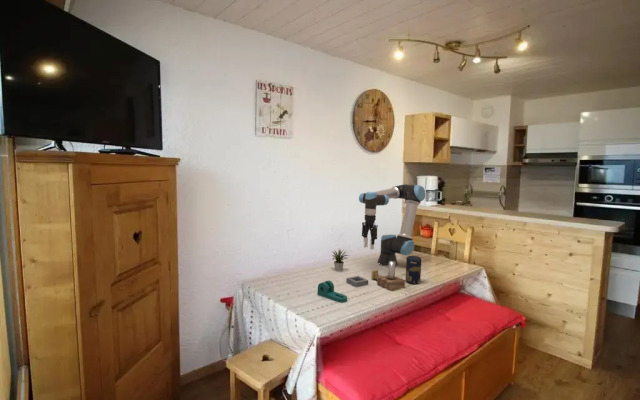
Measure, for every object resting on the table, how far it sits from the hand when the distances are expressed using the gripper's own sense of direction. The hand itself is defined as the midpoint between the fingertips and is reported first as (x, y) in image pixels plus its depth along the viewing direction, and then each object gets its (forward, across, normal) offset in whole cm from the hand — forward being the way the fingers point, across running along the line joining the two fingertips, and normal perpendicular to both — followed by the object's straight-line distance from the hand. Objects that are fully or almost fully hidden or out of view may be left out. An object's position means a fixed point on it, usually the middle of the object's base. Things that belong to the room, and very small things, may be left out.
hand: (368, 248), depth 225 cm
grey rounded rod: (+20, +22, 0) cm, 30 cm away
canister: (+20, +24, +19) cm, 36 cm away
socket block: (+20, +22, 0) cm, 30 cm away
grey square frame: (+20, +8, -16) cm, 27 cm away
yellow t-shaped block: (+19, +11, 0) cm, 23 cm away
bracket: (+20, +20, -43) cm, 52 cm away
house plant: (+20, -20, -11) cm, 30 cm away
